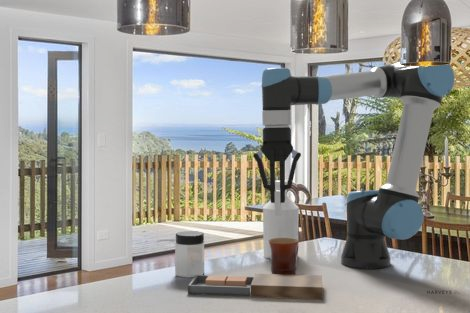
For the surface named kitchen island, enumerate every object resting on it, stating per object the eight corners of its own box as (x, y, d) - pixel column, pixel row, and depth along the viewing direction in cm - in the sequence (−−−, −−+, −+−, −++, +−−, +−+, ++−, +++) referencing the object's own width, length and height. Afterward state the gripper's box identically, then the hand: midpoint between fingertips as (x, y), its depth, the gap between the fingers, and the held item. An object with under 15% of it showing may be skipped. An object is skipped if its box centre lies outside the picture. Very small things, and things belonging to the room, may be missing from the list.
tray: (253, 284, 163) (253, 276, 163) (249, 296, 152) (249, 287, 152) (196, 282, 165) (196, 275, 165) (187, 294, 154) (187, 285, 154)
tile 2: (247, 285, 160) (247, 276, 160) (245, 290, 155) (245, 281, 155) (228, 285, 161) (228, 275, 161) (226, 290, 156) (226, 280, 156)
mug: (289, 281, 167) (289, 244, 166) (262, 276, 172) (262, 241, 171) (309, 272, 177) (309, 238, 176) (284, 268, 182) (284, 234, 181)
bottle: (300, 252, 204) (300, 179, 203) (296, 260, 192) (296, 183, 191) (266, 251, 207) (266, 179, 205) (259, 258, 195) (259, 182, 194)
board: (321, 286, 161) (321, 275, 161) (322, 299, 149) (322, 287, 149) (255, 284, 163) (255, 273, 163) (250, 296, 152) (250, 285, 151)
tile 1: (208, 275, 161) (208, 284, 162) (205, 280, 156) (205, 289, 157) (227, 275, 161) (227, 285, 161) (224, 280, 156) (224, 290, 156)
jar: (180, 279, 169) (179, 237, 169) (170, 272, 177) (170, 232, 176) (209, 275, 173) (209, 234, 172) (199, 269, 180) (199, 230, 180)
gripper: (301, 126, 162) (302, 212, 163) (253, 127, 164) (255, 212, 165) (301, 126, 155) (302, 217, 156) (251, 127, 156) (252, 217, 158)
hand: (277, 214), depth 161 cm, fingers closed
